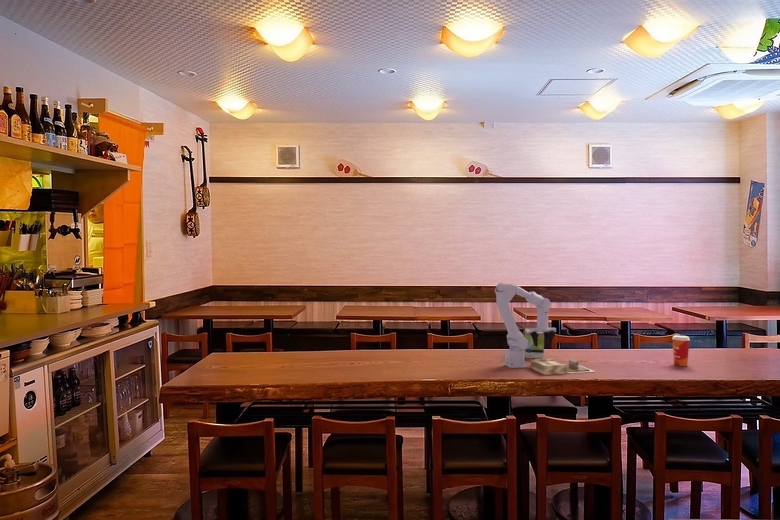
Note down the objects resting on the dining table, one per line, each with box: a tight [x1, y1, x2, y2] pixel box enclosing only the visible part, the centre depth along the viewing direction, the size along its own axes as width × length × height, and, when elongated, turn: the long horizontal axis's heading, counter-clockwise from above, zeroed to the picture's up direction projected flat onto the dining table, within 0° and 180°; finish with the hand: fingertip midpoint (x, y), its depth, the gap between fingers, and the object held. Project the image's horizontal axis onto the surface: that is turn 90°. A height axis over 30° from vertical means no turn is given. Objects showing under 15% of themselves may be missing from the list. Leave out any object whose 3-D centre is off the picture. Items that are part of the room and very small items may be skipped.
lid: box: [566, 359, 591, 372], centre depth 251 cm, size 11×11×4 cm
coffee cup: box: [671, 334, 691, 367], centre depth 261 cm, size 8×8×15 cm
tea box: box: [523, 328, 545, 360], centre depth 284 cm, size 15×10×15 cm, turn 168°
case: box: [530, 358, 568, 376], centre depth 249 cm, size 12×14×4 cm
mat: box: [567, 364, 596, 374], centre depth 251 cm, size 14×14×1 cm
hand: (542, 345), depth 265 cm, fingers open, 7 cm apart
